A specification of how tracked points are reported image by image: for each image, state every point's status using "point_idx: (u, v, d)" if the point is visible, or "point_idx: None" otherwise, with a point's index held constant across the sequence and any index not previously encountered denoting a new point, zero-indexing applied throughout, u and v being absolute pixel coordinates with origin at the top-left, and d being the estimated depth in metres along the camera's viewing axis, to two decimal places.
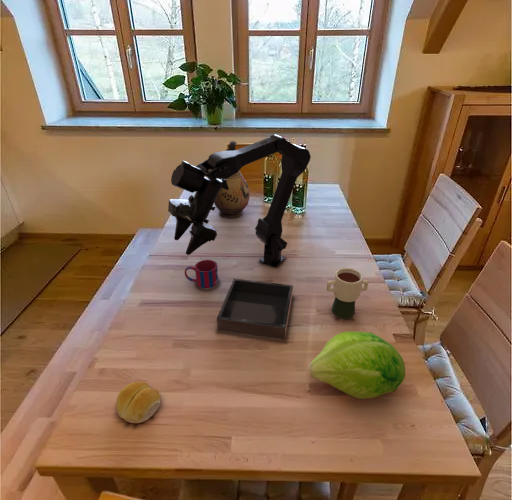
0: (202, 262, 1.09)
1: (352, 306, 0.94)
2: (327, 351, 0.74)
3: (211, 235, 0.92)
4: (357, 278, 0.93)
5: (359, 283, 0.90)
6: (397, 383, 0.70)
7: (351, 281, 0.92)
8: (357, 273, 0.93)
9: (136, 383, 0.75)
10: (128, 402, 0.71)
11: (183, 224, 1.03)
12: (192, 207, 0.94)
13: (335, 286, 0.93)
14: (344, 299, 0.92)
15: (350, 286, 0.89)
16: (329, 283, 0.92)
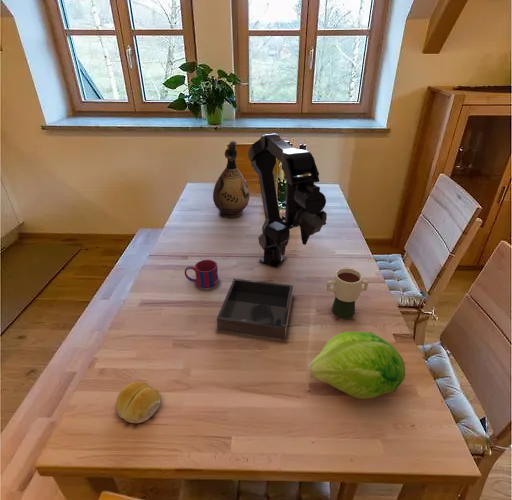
0: (202, 262, 1.09)
1: (352, 306, 0.94)
2: (327, 351, 0.74)
3: None
4: (357, 278, 0.93)
5: (359, 283, 0.90)
6: (397, 383, 0.70)
7: (351, 281, 0.92)
8: (357, 273, 0.93)
9: (136, 383, 0.75)
10: (128, 402, 0.71)
11: None
12: None
13: (335, 286, 0.93)
14: (344, 299, 0.92)
15: (350, 286, 0.89)
16: (329, 283, 0.92)
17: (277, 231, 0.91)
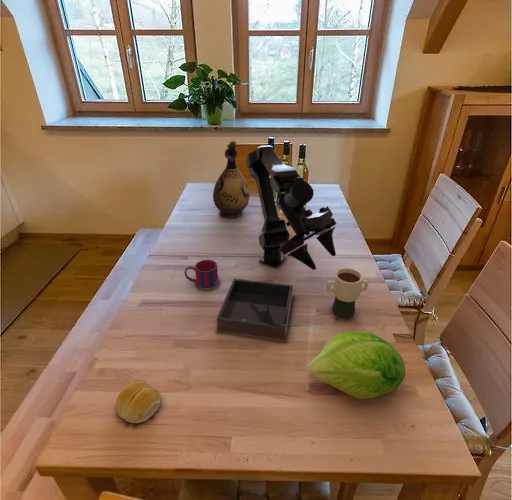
0: (202, 262, 1.09)
1: (352, 306, 0.94)
2: (327, 351, 0.74)
3: None
4: (357, 278, 0.93)
5: (359, 283, 0.90)
6: (397, 383, 0.70)
7: (351, 281, 0.92)
8: (357, 273, 0.93)
9: (136, 383, 0.75)
10: (128, 402, 0.71)
11: None
12: None
13: (335, 286, 0.93)
14: (344, 299, 0.92)
15: (350, 286, 0.89)
16: (329, 283, 0.92)
17: (289, 240, 0.89)
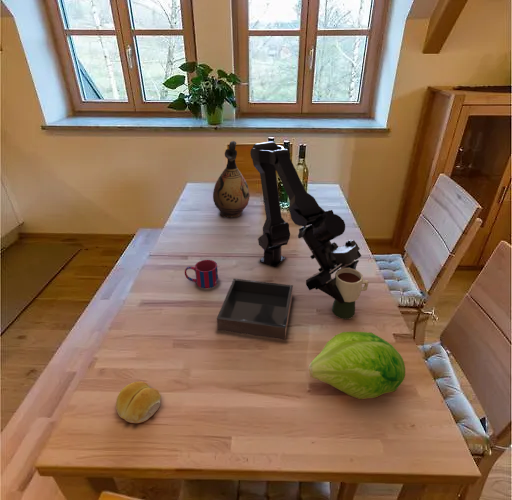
0: (202, 262, 1.09)
1: (352, 306, 0.94)
2: (327, 351, 0.74)
3: None
4: (357, 278, 0.93)
5: (359, 283, 0.90)
6: (397, 383, 0.70)
7: (351, 281, 0.92)
8: (357, 273, 0.93)
9: (136, 383, 0.75)
10: (128, 402, 0.71)
11: None
12: None
13: None
14: (344, 299, 0.92)
15: (350, 286, 0.89)
16: None
17: (316, 276, 0.88)
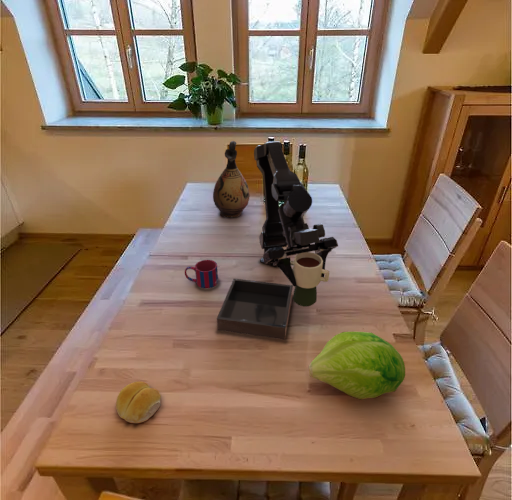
0: (202, 262, 1.09)
1: (309, 294, 0.88)
2: (327, 351, 0.74)
3: None
4: (318, 266, 0.86)
5: (312, 270, 0.84)
6: (397, 383, 0.70)
7: (309, 266, 0.86)
8: (320, 261, 0.87)
9: (136, 383, 0.75)
10: (128, 402, 0.71)
11: None
12: None
13: None
14: (297, 283, 0.87)
15: (302, 270, 0.84)
16: None
17: (268, 249, 0.86)
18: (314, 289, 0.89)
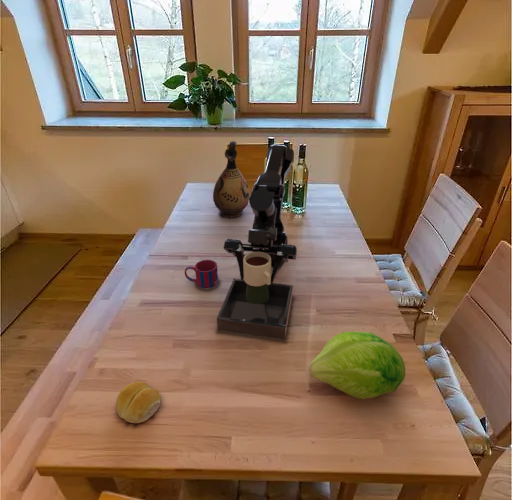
0: (202, 262, 1.09)
1: (253, 292, 0.91)
2: (327, 351, 0.74)
3: (296, 253, 0.92)
4: None
5: (252, 268, 0.86)
6: (397, 383, 0.70)
7: (255, 265, 0.89)
8: None
9: (136, 383, 0.75)
10: (128, 402, 0.71)
11: None
12: None
13: None
14: (244, 277, 0.91)
15: (244, 265, 0.88)
16: None
17: None
18: (260, 289, 0.91)
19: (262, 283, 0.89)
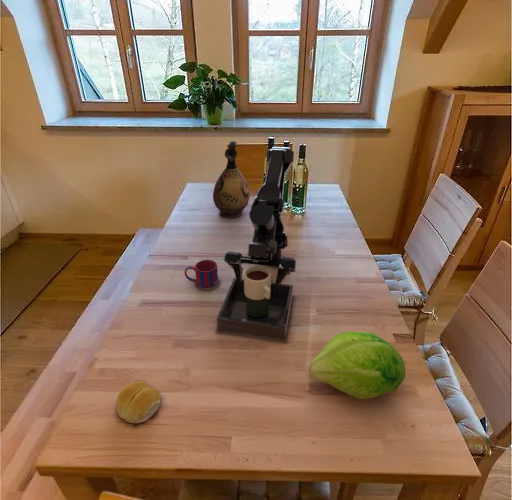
0: (202, 262, 1.09)
1: (253, 305, 0.93)
2: (327, 351, 0.74)
3: (295, 266, 0.94)
4: None
5: (252, 282, 0.89)
6: (397, 383, 0.70)
7: (255, 279, 0.91)
8: None
9: (136, 383, 0.75)
10: (128, 402, 0.71)
11: (241, 272, 0.95)
12: None
13: None
14: (244, 291, 0.93)
15: (245, 280, 0.90)
16: None
17: (227, 252, 0.94)
18: (260, 303, 0.93)
19: (262, 297, 0.91)
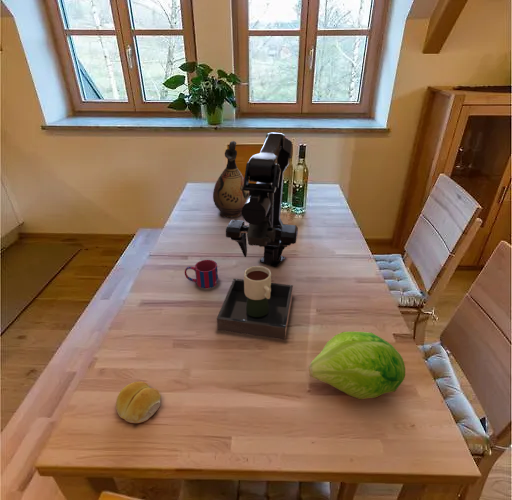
0: (202, 262, 1.09)
1: (253, 305, 0.93)
2: (327, 351, 0.74)
3: (297, 232, 0.94)
4: None
5: (252, 282, 0.89)
6: (397, 383, 0.70)
7: (255, 279, 0.91)
8: None
9: (136, 383, 0.75)
10: (128, 402, 0.71)
11: (244, 240, 0.97)
12: (268, 225, 0.89)
13: None
14: (244, 291, 0.93)
15: (245, 280, 0.90)
16: None
17: (227, 227, 0.93)
18: (260, 303, 0.93)
19: (262, 297, 0.91)
